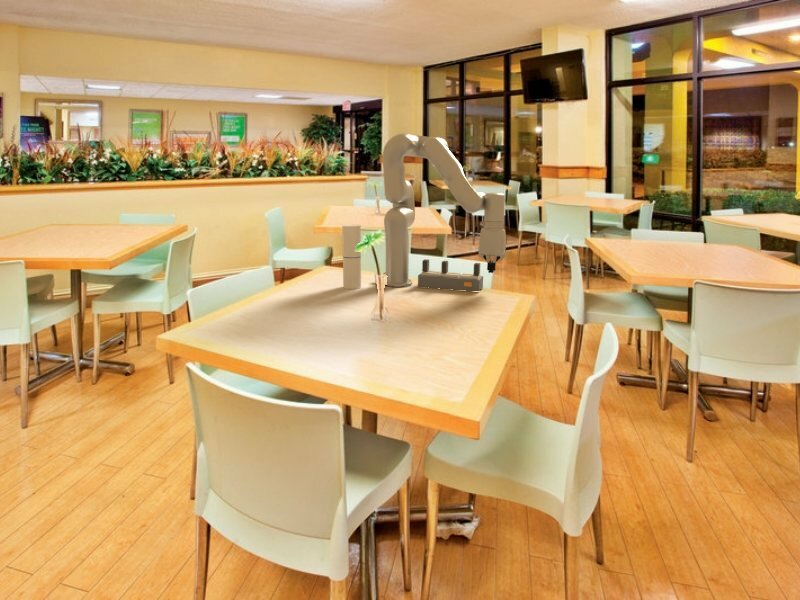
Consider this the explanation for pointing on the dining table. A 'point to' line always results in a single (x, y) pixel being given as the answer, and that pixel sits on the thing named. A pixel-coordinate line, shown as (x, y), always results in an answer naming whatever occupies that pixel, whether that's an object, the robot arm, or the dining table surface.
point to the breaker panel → (450, 280)
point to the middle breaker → (444, 267)
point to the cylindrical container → (351, 256)
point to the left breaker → (425, 265)
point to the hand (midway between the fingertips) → (491, 272)
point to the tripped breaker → (477, 269)
